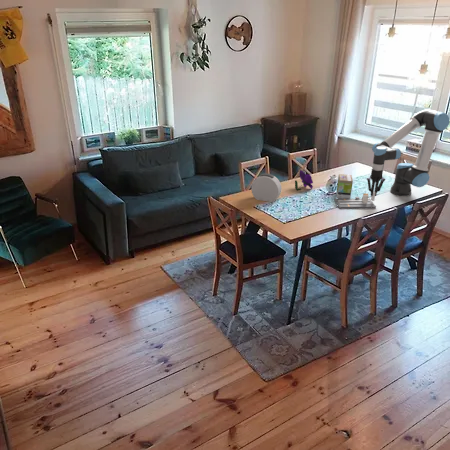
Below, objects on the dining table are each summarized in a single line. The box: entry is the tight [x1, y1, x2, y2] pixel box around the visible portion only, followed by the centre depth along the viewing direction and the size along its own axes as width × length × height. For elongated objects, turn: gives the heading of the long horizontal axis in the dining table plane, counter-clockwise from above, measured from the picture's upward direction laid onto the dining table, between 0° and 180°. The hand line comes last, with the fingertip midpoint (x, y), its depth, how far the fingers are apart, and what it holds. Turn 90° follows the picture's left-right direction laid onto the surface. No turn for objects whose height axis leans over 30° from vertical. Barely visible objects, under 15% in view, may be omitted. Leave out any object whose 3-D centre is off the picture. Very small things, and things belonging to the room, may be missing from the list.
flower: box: [294, 169, 314, 191], centre depth 334 cm, size 15×15×14 cm
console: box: [334, 196, 377, 210], centre depth 307 cm, size 26×15×3 cm, turn 89°
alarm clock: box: [251, 173, 283, 203], centre depth 314 cm, size 21×8×20 cm, turn 65°
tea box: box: [336, 173, 354, 199], centre depth 321 cm, size 15×10×15 cm, turn 168°
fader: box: [361, 193, 370, 203], centre depth 306 cm, size 3×3×7 cm
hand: (372, 200), depth 306 cm, fingers closed
